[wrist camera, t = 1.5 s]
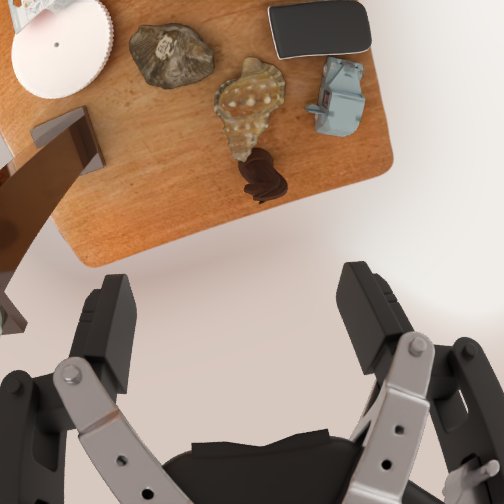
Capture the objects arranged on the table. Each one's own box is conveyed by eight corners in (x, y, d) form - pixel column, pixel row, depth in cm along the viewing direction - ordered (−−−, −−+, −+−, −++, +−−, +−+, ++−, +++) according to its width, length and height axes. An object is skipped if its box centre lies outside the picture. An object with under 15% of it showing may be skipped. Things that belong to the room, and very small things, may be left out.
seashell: (282, 110, 41) (282, 166, 37) (222, 109, 41) (213, 164, 37) (286, 55, 32) (288, 106, 28) (216, 54, 33) (203, 105, 29)
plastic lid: (52, 115, 34) (44, 120, 32) (6, 42, 25) (-4, 44, 23) (136, 51, 31) (131, 52, 29) (85, -28, 23) (78, -31, 21)
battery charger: (275, 61, 34) (365, 53, 33) (278, 61, 31) (375, 52, 30) (264, 10, 30) (355, 3, 29) (266, 4, 27) (365, -2, 26)
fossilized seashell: (233, 49, 31) (167, 1, 27) (204, 70, 27) (130, 17, 24) (201, 88, 36) (143, 45, 33) (173, 114, 33) (109, 66, 30)
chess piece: (236, 150, 41) (242, 183, 33) (274, 145, 41) (290, 176, 33) (241, 181, 44) (248, 220, 36) (277, 175, 44) (293, 213, 36)
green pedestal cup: (26, 125, 34) (-144, 299, 7) (89, 97, 33) (-108, 277, 7) (52, 188, 40) (-63, 392, 14) (113, 168, 40) (7, 403, 14)
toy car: (355, 62, 34) (372, 67, 31) (341, 131, 41) (355, 143, 37) (308, 52, 33) (320, 55, 30) (296, 125, 39) (305, 136, 36)
